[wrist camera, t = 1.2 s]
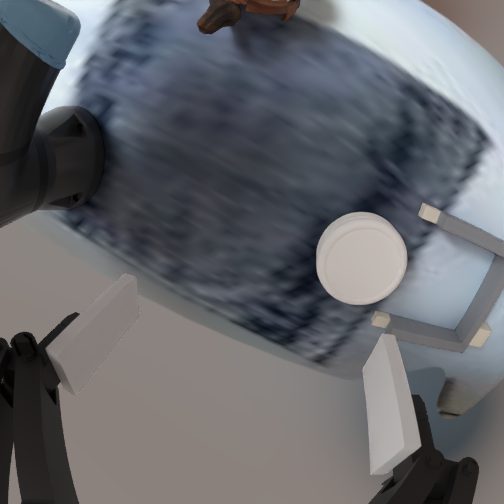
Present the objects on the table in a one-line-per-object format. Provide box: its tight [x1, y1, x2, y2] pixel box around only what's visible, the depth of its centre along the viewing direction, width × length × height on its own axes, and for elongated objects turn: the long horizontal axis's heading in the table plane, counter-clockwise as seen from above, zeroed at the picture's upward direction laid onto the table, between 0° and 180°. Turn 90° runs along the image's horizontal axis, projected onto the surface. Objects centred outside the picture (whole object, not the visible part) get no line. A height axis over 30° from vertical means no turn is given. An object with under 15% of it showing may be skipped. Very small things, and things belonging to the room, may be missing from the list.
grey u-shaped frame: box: [371, 203, 504, 353], centre depth 28 cm, size 18×16×3 cm
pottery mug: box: [197, 0, 300, 34], centre depth 20 cm, size 12×10×8 cm
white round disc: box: [316, 212, 407, 305], centre depth 29 cm, size 10×10×4 cm
